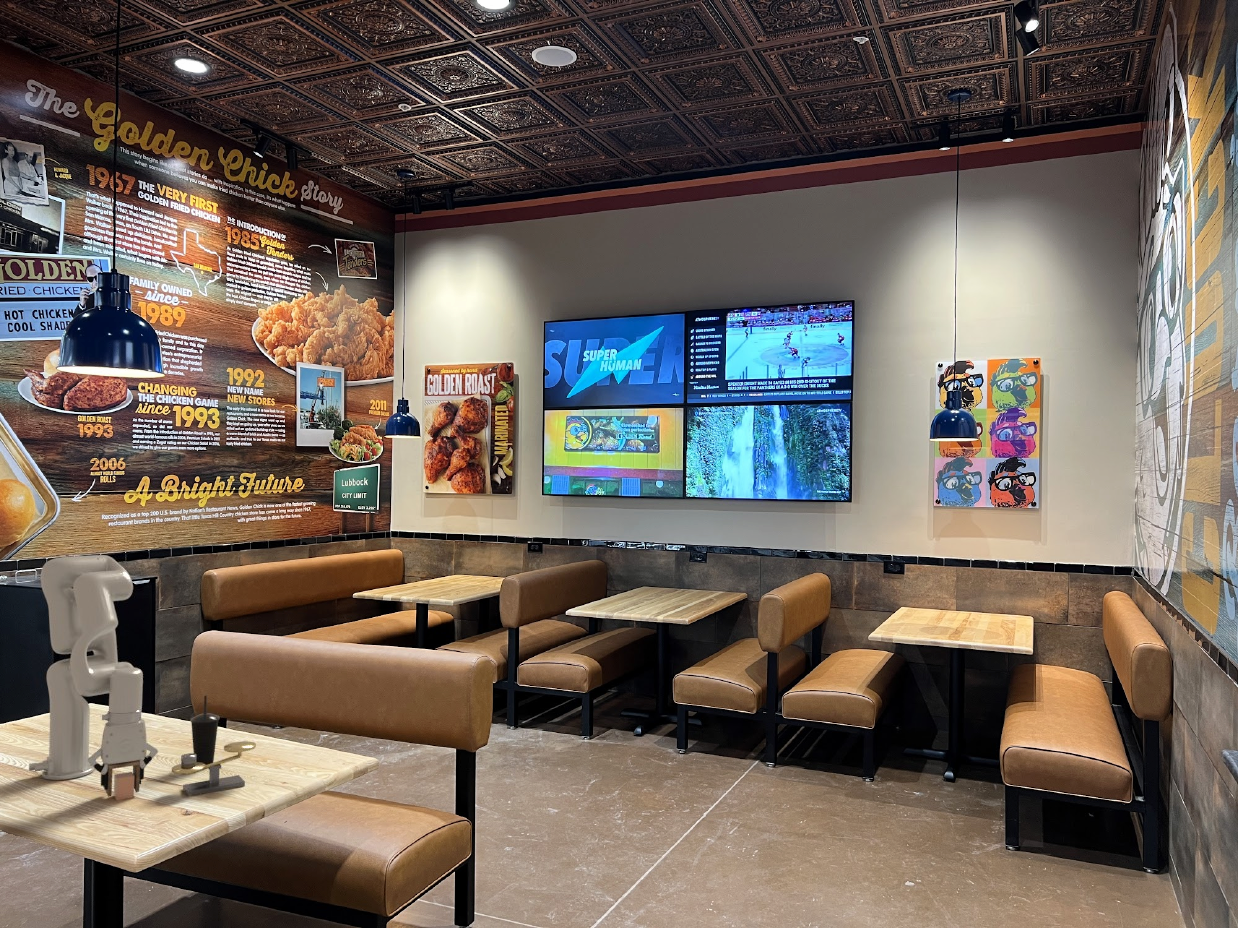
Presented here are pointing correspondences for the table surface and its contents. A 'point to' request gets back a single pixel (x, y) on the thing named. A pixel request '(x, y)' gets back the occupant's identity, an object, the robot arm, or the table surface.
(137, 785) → the arch
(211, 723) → the drinking cup
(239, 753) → the balance
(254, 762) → the table surface
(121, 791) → the block
